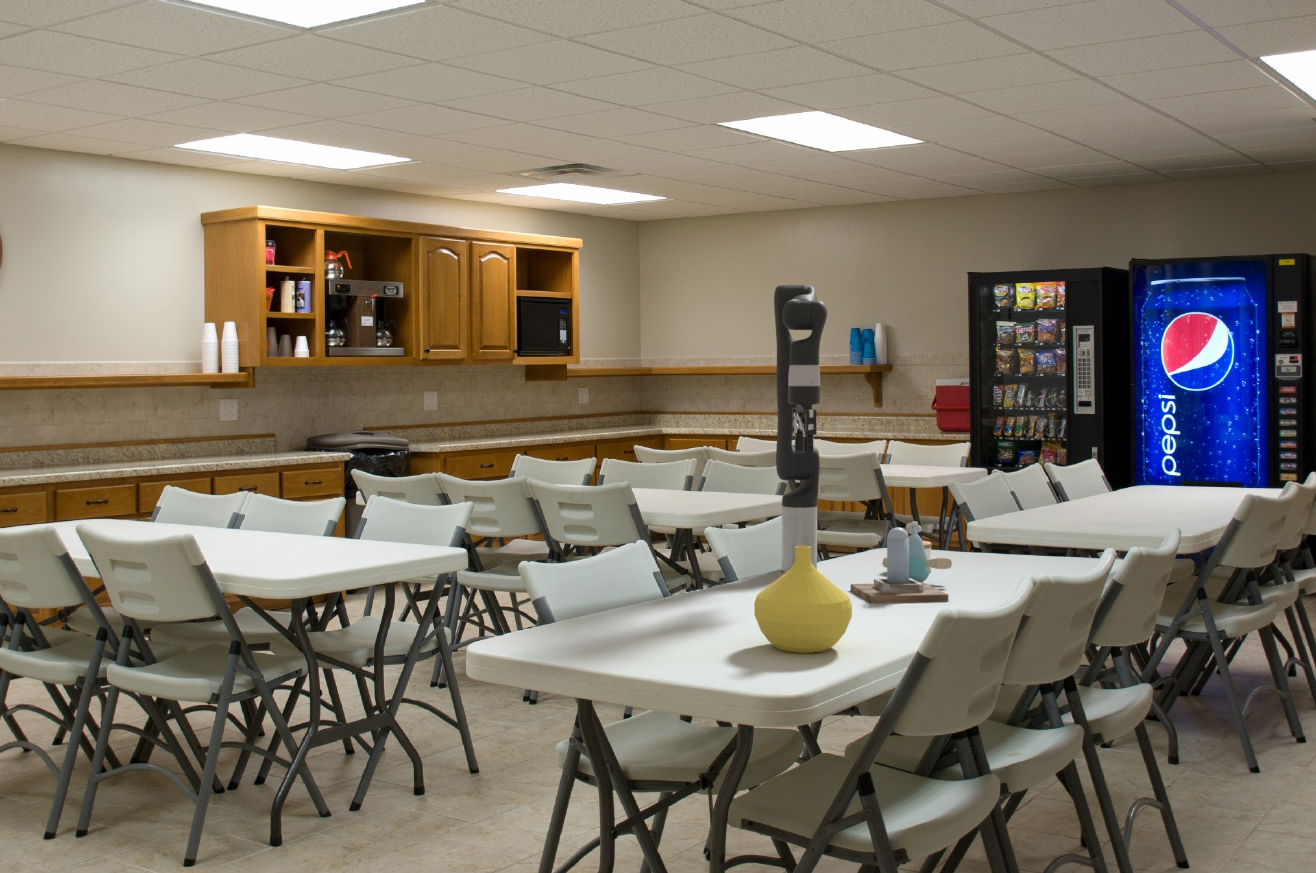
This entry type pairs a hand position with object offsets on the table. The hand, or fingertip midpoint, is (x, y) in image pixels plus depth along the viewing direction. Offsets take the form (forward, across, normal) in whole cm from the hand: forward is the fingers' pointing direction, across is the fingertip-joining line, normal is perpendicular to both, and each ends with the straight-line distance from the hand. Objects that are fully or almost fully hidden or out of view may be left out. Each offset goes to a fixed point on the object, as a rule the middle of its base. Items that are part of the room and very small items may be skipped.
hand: (803, 452), depth 298 cm
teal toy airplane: (+33, +6, -30) cm, 45 cm away
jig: (+33, -11, -20) cm, 40 cm away
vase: (+33, -63, +16) cm, 73 cm away
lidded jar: (+33, +24, -35) cm, 54 cm away
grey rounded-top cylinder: (+32, -11, -20) cm, 39 cm away
